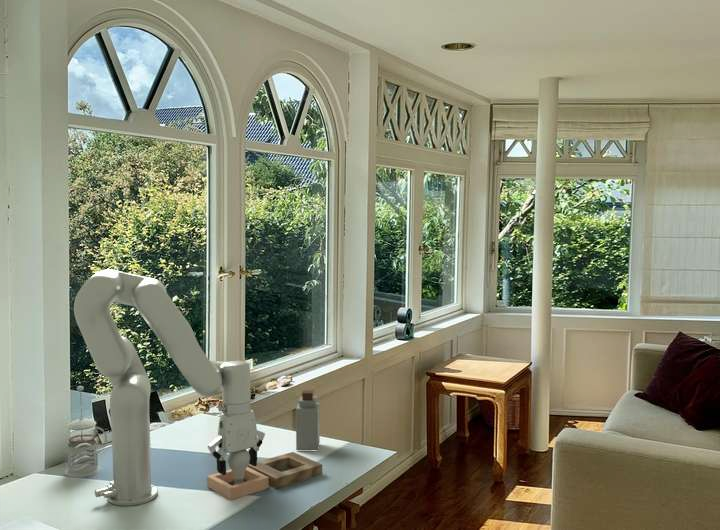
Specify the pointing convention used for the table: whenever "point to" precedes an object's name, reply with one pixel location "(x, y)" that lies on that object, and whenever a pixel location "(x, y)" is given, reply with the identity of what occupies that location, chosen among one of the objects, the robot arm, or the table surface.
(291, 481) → the walnut holder
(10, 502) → the table surface
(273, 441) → the table surface
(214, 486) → the terracotta stand
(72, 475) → the french press
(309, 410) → the perfume bottle
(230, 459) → the lightbulb
